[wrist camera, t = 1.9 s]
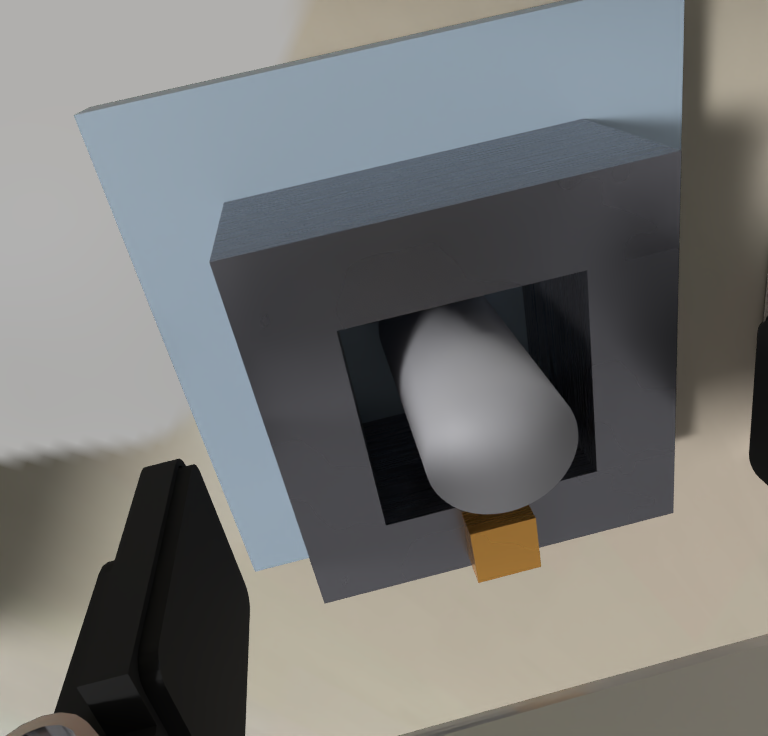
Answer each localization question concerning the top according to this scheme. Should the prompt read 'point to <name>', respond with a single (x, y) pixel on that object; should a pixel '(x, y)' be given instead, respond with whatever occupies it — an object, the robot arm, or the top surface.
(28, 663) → the top surface
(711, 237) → the top surface
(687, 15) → the top surface
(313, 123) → the stand
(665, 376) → the grey square socket block
